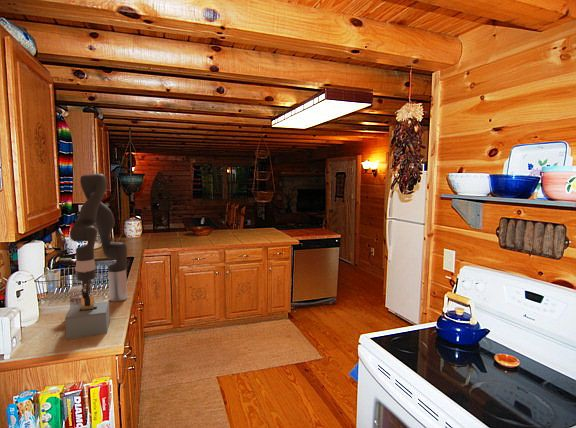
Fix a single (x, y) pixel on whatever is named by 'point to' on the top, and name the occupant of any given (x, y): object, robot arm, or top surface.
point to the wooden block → (90, 303)
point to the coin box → (87, 320)
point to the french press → (76, 298)
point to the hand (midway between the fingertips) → (87, 304)
